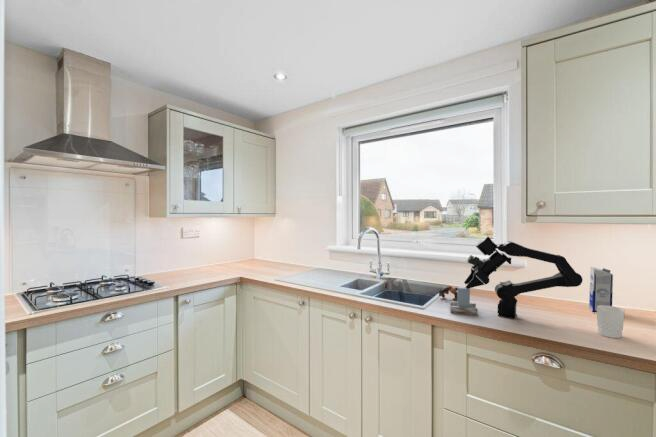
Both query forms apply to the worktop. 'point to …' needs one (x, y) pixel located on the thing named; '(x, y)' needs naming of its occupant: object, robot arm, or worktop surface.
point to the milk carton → (600, 288)
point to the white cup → (610, 321)
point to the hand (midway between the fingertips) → (465, 285)
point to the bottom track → (463, 309)
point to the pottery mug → (446, 290)
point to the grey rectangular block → (463, 297)
